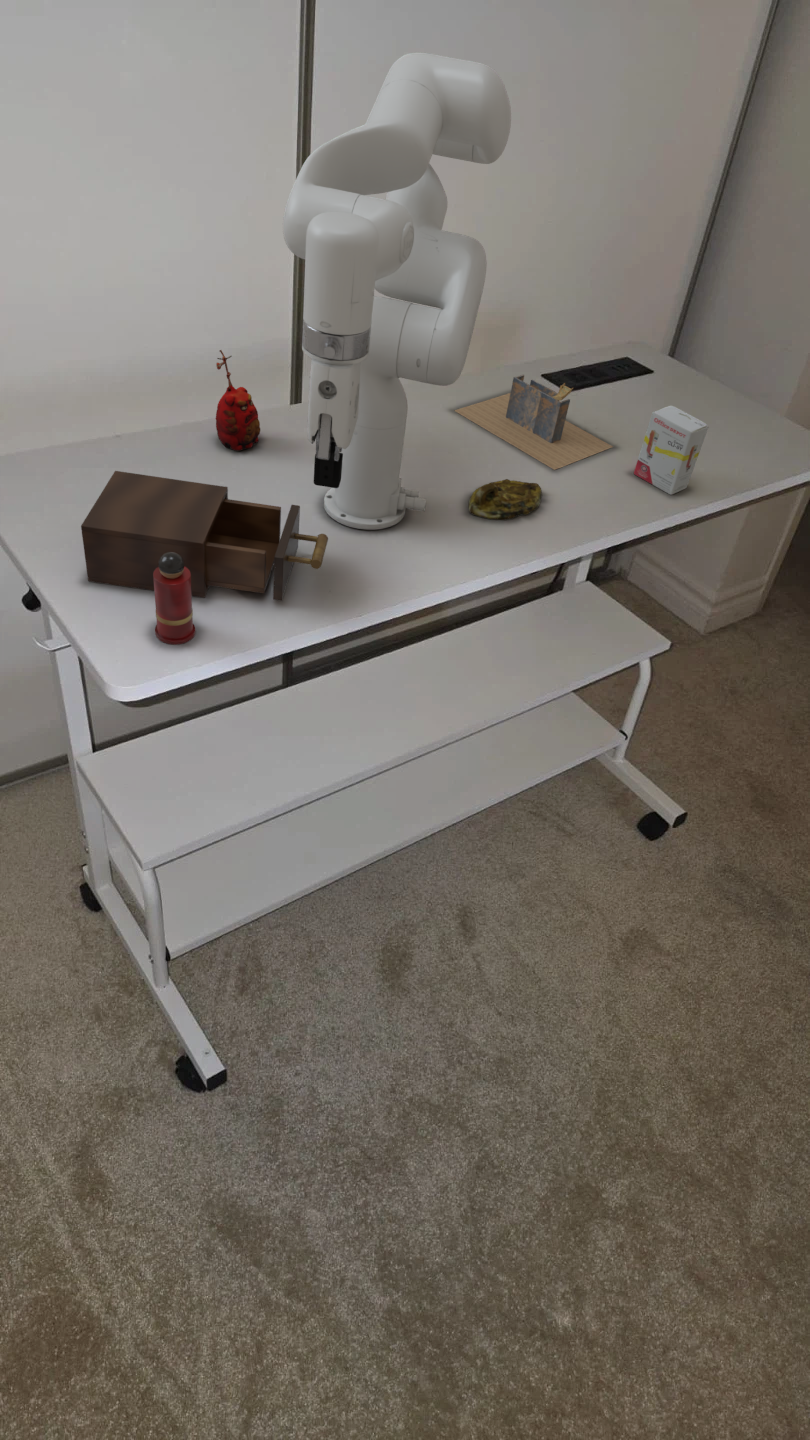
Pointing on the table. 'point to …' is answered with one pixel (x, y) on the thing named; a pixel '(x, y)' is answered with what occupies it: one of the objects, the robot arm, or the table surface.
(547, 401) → the ruin model on sheet
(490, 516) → the mottled olive oval lump
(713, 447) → the table surface
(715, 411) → the table surface
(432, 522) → the table surface
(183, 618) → the red cylinder
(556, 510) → the table surface
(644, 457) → the ink box
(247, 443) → the red clay folk toy
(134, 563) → the cabinet
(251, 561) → the drawer
